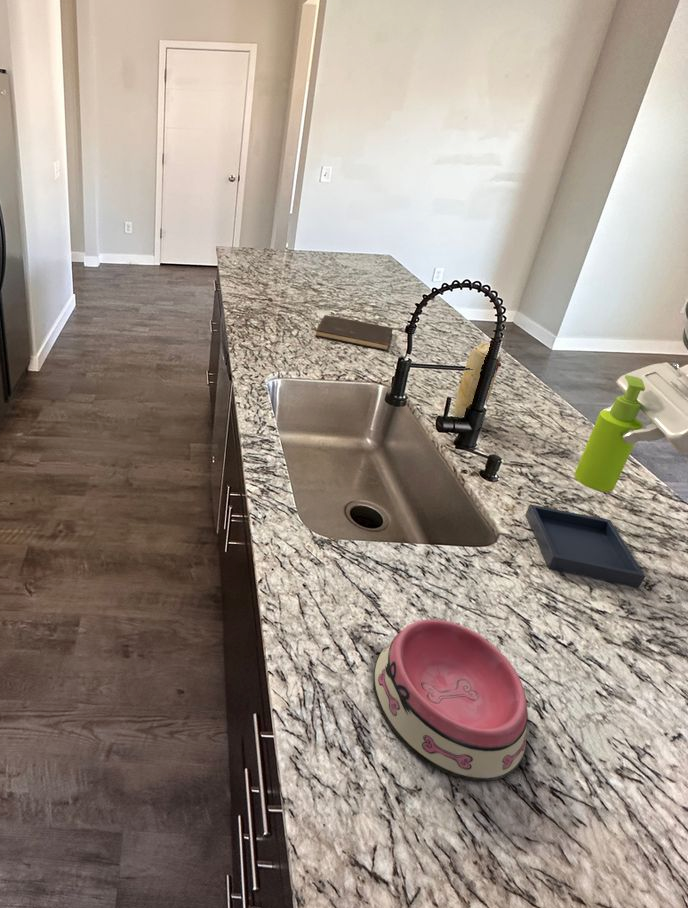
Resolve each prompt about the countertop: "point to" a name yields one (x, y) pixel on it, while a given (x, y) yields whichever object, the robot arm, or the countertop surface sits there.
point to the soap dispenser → (610, 441)
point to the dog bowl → (453, 700)
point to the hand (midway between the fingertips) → (614, 427)
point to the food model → (472, 379)
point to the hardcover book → (354, 332)
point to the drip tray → (583, 546)
